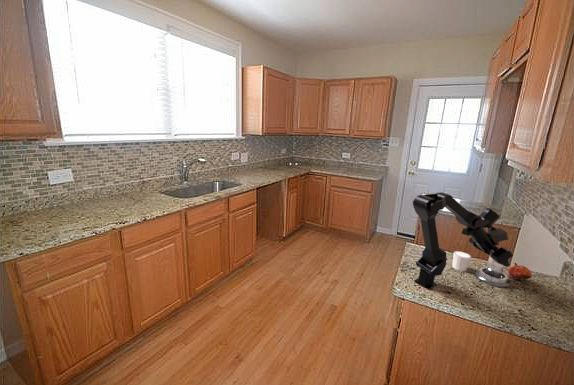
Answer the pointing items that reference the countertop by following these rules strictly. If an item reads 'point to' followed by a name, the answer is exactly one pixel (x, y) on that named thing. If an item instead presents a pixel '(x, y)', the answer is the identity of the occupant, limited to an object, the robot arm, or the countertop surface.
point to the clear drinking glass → (494, 268)
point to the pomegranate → (519, 272)
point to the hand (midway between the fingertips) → (499, 260)
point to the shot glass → (461, 260)
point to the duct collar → (492, 279)
